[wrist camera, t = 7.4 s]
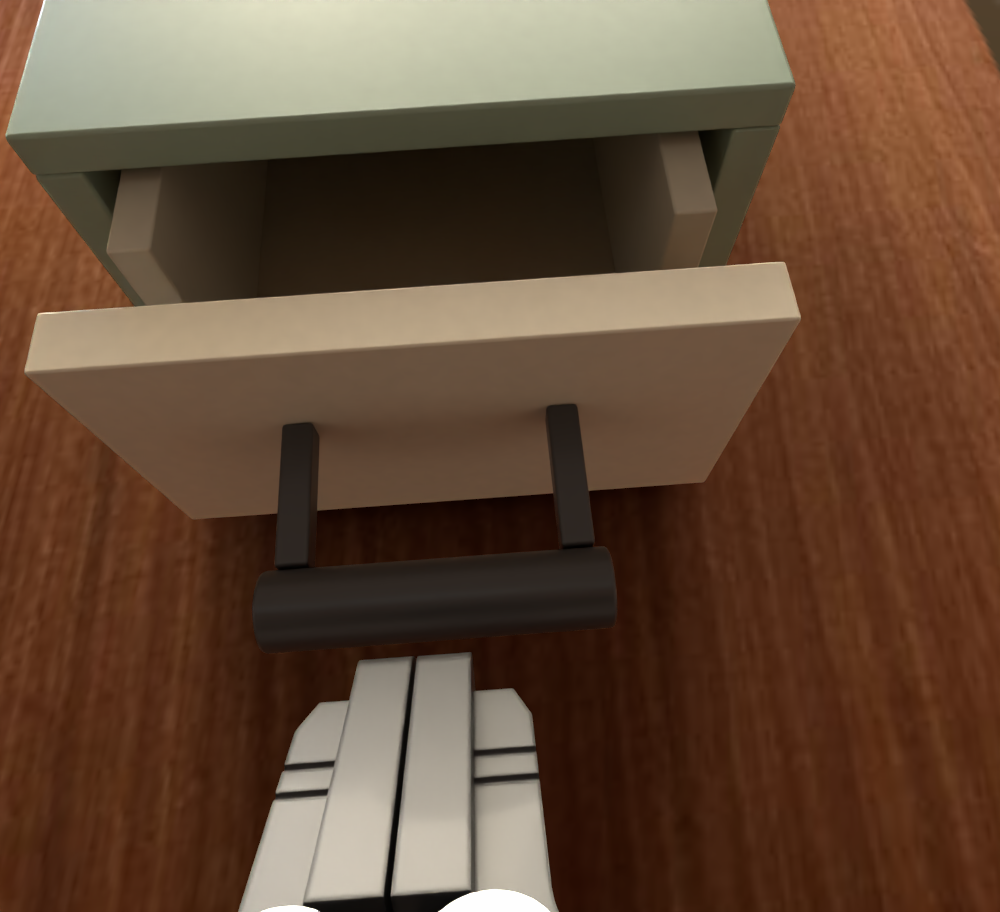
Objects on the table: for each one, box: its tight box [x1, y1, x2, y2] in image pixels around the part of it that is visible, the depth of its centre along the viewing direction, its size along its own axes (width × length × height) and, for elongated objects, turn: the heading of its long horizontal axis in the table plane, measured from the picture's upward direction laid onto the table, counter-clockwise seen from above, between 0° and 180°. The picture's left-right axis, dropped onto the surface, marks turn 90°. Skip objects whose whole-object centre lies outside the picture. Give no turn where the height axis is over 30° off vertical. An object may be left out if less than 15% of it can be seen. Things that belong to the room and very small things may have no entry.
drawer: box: [24, 131, 801, 654], centre depth 18 cm, size 21×13×7 cm, turn 4°
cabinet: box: [6, 0, 795, 307], centre depth 21 cm, size 18×14×9 cm
